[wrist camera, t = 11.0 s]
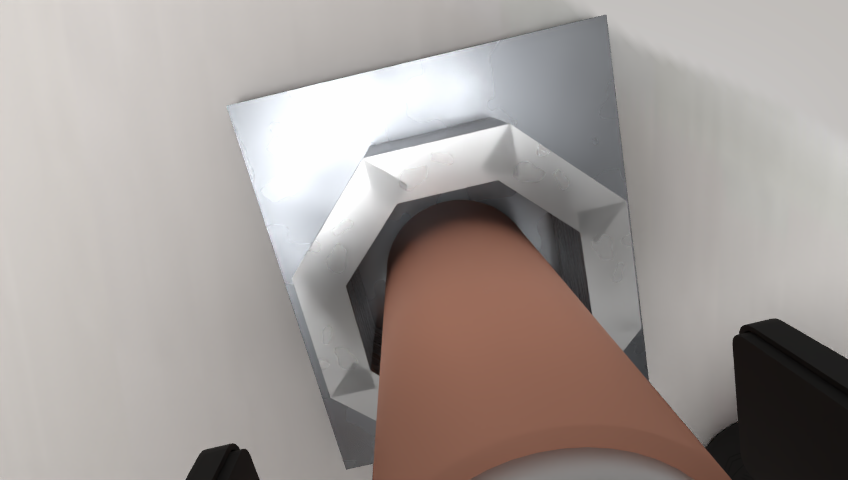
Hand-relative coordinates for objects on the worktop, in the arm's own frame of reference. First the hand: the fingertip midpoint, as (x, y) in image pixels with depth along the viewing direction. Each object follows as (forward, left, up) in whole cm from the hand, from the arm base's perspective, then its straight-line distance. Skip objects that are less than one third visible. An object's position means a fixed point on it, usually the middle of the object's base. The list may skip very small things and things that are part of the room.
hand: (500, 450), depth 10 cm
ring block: (0, 0, -10) cm, 10 cm away
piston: (0, 0, -9) cm, 9 cm away
